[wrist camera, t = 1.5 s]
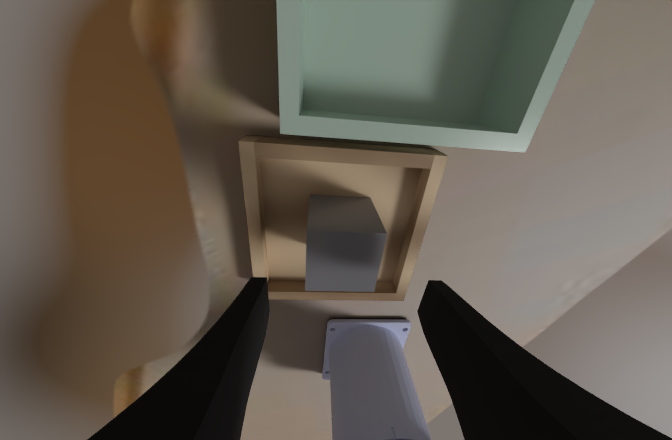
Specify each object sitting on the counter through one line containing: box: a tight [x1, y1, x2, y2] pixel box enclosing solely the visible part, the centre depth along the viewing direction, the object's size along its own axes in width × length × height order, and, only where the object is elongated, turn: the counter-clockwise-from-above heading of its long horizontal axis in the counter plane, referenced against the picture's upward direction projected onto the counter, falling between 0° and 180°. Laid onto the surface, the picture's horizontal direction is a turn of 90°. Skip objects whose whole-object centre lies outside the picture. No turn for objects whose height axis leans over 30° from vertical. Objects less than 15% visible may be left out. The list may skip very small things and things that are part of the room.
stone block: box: [305, 194, 387, 292], centre depth 15 cm, size 4×4×4 cm
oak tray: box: [238, 135, 448, 301], centre depth 17 cm, size 12×12×2 cm
